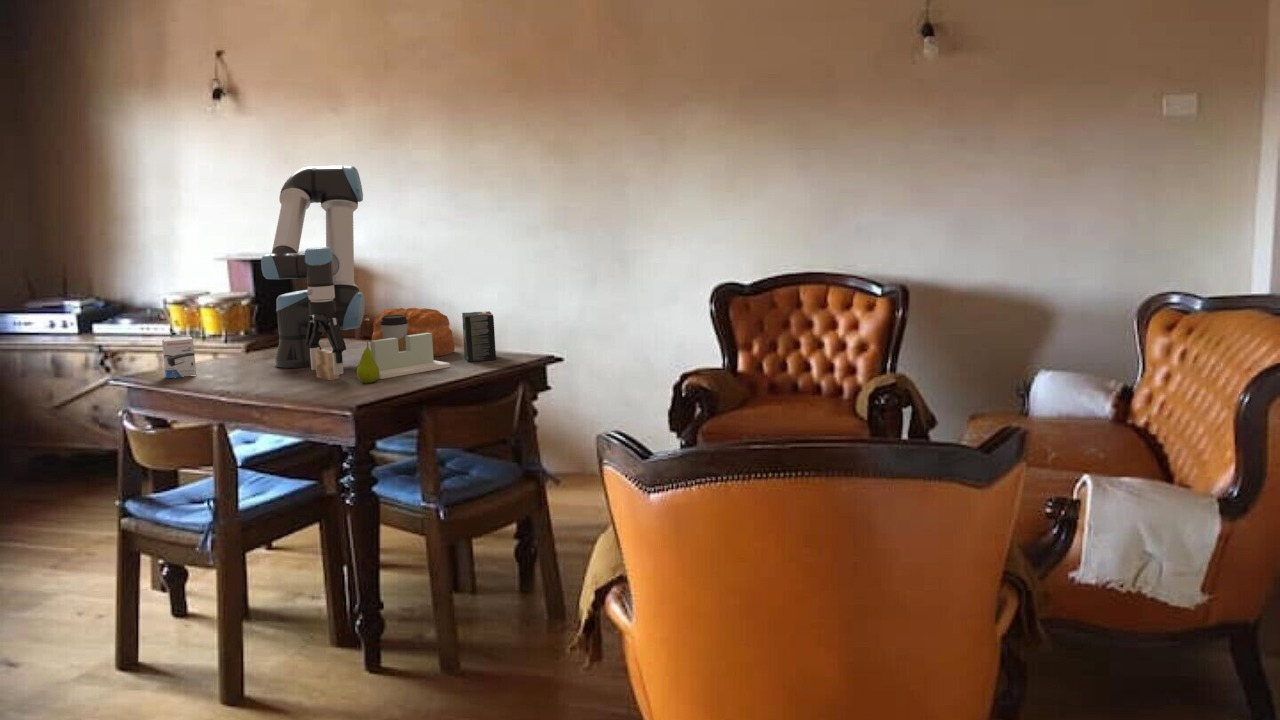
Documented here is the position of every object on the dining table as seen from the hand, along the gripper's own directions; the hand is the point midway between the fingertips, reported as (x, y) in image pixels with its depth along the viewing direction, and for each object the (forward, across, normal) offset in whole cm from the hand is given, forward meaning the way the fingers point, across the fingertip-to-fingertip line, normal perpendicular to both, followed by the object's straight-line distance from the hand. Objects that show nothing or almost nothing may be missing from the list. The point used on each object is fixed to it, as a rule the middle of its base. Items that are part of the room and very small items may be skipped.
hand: (327, 371), depth 326 cm
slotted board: (+2, +8, +21) cm, 23 cm away
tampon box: (+2, +10, +48) cm, 49 cm away
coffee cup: (+2, -4, +26) cm, 27 cm away
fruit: (+2, +17, +4) cm, 17 cm away
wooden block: (+2, 0, 0) cm, 2 cm away
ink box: (+2, -39, -28) cm, 48 cm away
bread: (+2, -17, +40) cm, 44 cm away
